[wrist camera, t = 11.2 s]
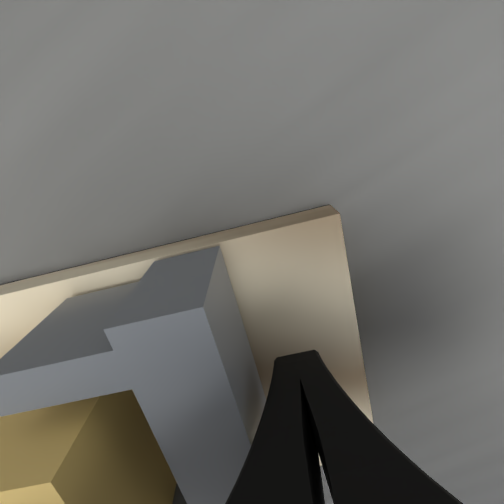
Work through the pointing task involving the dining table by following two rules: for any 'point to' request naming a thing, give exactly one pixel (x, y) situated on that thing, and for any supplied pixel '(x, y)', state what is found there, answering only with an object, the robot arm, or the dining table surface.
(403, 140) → the dining table surface
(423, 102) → the dining table surface
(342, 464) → the robot arm
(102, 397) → the block
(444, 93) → the dining table surface
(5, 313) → the base plate
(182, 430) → the housing
